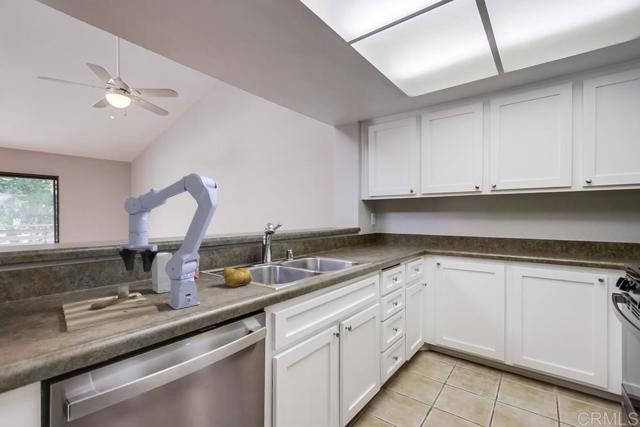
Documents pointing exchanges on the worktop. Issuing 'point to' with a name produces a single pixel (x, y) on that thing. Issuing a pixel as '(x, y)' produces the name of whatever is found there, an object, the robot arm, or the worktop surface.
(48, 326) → the worktop surface
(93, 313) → the dial board
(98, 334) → the worktop surface
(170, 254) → the skincare box
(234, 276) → the potato
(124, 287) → the lever
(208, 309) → the worktop surface
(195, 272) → the soda can
